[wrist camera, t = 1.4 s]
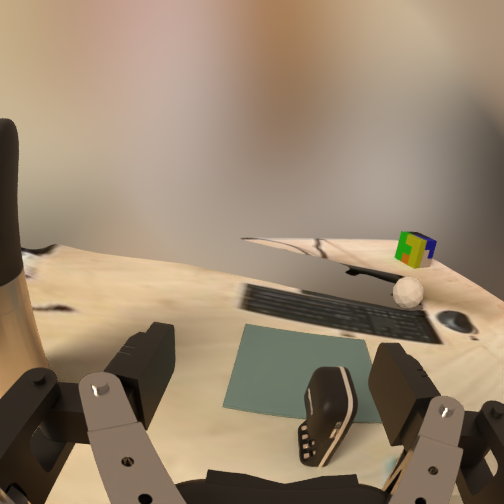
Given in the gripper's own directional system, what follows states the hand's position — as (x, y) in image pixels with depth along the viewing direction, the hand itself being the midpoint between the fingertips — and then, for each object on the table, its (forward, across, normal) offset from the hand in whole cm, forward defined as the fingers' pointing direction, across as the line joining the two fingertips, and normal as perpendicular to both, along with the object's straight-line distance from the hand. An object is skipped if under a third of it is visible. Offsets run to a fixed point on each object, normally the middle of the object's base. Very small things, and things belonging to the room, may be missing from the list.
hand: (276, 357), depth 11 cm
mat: (+28, -8, +21) cm, 36 cm away
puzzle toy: (+89, -54, +18) cm, 105 cm away
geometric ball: (+53, -34, +20) cm, 66 cm away
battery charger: (+14, -7, +23) cm, 27 cm away
